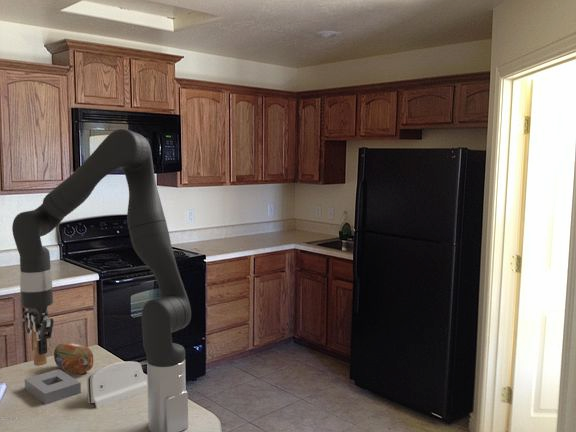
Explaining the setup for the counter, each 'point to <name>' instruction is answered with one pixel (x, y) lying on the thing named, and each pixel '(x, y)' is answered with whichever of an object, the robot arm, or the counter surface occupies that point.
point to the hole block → (52, 386)
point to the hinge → (116, 383)
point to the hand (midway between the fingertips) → (39, 351)
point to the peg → (37, 358)
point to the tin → (73, 358)
